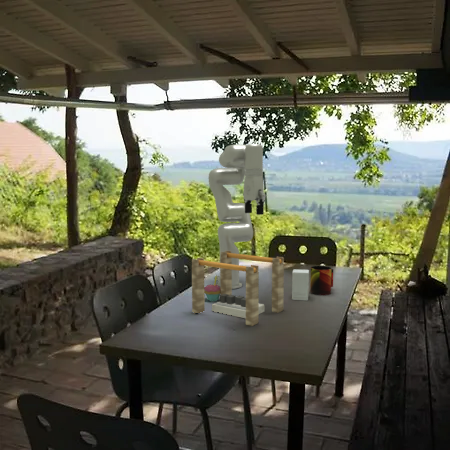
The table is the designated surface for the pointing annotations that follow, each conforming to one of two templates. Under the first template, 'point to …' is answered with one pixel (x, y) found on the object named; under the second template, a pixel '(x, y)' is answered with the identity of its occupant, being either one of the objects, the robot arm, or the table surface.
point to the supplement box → (300, 284)
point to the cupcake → (212, 291)
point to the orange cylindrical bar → (250, 257)
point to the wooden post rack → (251, 286)
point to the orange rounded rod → (223, 265)
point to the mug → (321, 280)
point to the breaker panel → (233, 306)
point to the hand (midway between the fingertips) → (254, 213)
